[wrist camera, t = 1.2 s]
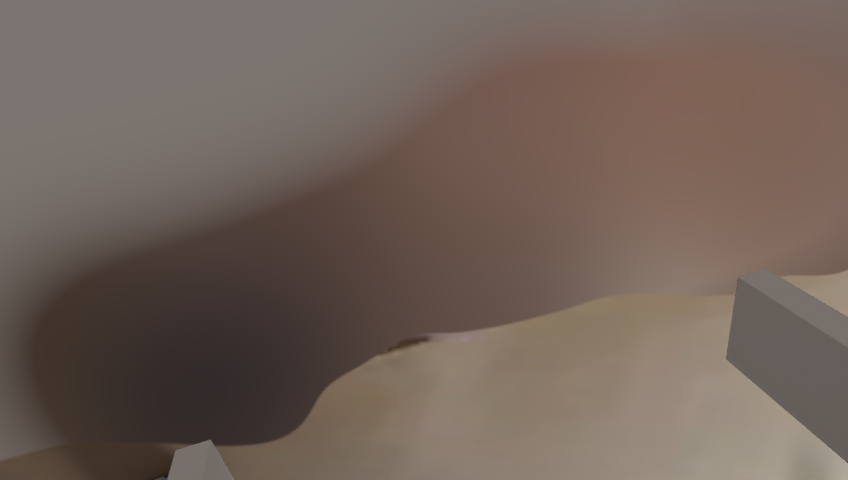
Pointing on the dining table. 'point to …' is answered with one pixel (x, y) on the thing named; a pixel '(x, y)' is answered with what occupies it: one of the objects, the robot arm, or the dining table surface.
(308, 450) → the dining table surface
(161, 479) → the energy drink
